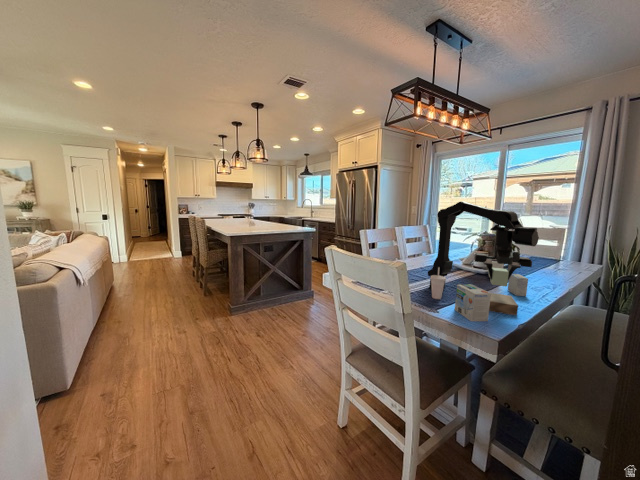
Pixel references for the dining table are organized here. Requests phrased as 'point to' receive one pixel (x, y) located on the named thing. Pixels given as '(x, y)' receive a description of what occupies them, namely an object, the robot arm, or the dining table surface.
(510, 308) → the walnut riser block
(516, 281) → the medicine box
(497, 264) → the dixie cup
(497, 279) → the sage block
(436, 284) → the smoothie
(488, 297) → the light bulb box
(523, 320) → the dining table surface
